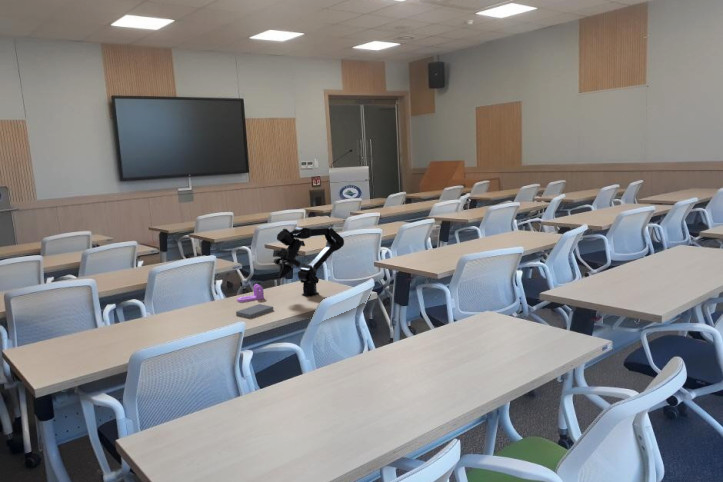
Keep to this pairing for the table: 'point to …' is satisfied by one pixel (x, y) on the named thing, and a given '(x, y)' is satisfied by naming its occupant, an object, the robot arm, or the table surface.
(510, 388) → the table surface
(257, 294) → the bracket
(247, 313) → the tile
